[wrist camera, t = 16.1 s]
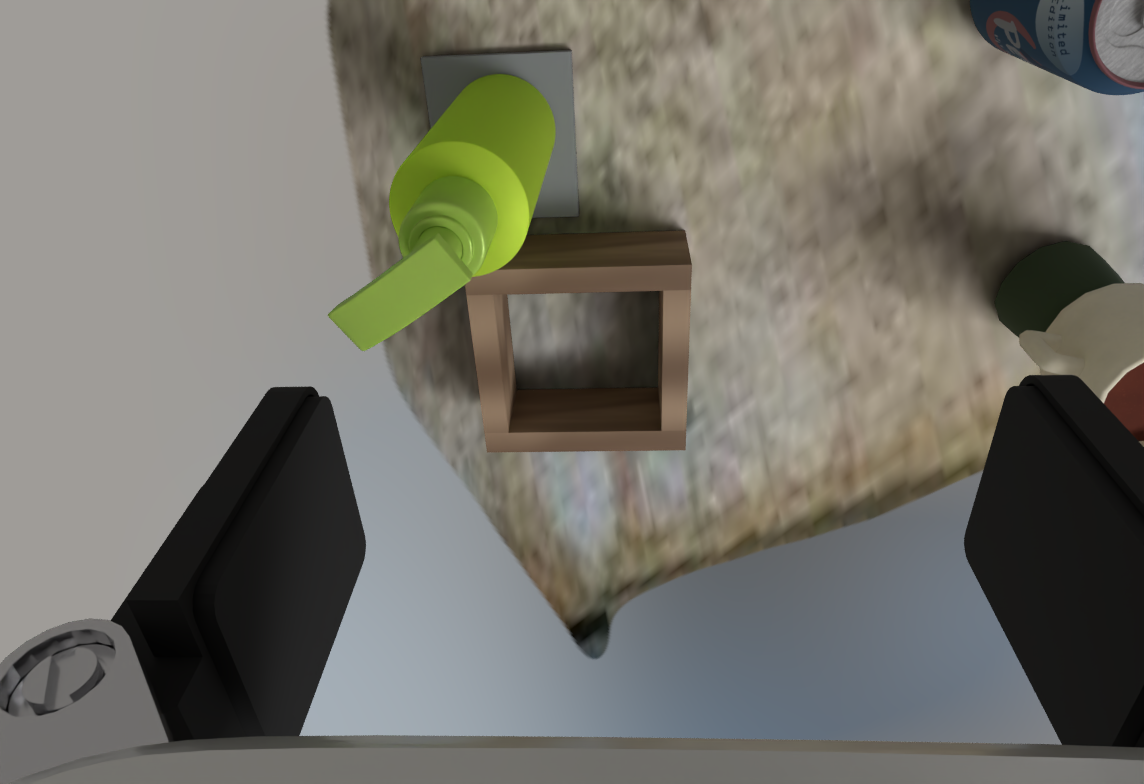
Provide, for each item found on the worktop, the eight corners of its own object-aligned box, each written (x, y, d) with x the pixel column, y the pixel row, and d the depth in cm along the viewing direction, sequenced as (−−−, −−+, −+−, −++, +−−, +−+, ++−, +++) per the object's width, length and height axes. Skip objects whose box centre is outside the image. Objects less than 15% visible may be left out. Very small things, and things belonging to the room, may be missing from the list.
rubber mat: (422, 56, 43) (420, 58, 42) (571, 49, 42) (571, 51, 42) (445, 217, 48) (443, 220, 47) (578, 213, 47) (578, 216, 47)
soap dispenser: (414, 128, 44) (280, 278, 28) (510, 50, 42) (428, 164, 25) (481, 211, 47) (395, 397, 30) (576, 142, 44) (541, 303, 27)
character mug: (934, 321, 50) (1023, 445, 39) (987, 213, 46) (1102, 318, 35) (1098, 352, 51) (1231, 483, 40) (1164, 249, 47) (1331, 363, 36)
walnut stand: (476, 236, 48) (463, 270, 44) (685, 230, 47) (691, 264, 43) (497, 408, 55) (487, 452, 51) (679, 405, 54) (685, 450, 50)
